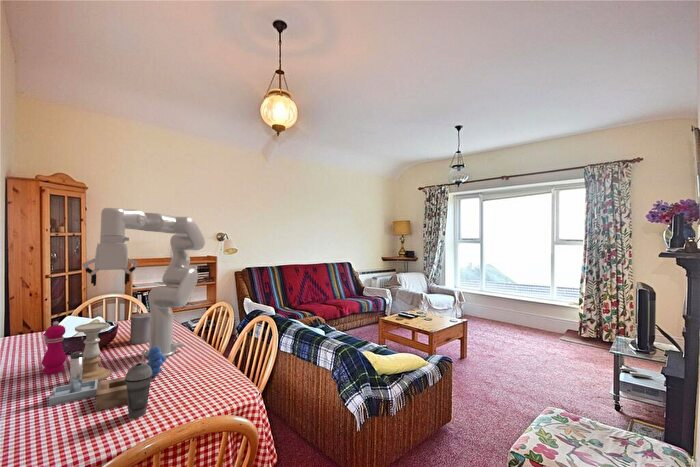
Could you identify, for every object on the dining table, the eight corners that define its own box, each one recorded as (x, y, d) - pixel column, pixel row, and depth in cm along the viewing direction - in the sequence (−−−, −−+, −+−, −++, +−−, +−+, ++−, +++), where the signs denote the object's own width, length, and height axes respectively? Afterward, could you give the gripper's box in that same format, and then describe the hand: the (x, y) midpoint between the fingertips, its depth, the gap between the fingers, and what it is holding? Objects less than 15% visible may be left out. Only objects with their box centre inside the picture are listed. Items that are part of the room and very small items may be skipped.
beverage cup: (132, 408, 103) (134, 345, 103) (155, 407, 103) (158, 345, 104) (117, 420, 95) (120, 353, 96) (143, 420, 96) (145, 353, 96)
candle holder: (64, 388, 114) (66, 331, 115) (74, 374, 125) (76, 323, 126) (106, 381, 120) (108, 328, 120) (113, 369, 131) (115, 320, 131)
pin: (81, 389, 112) (83, 350, 112) (81, 393, 109) (82, 353, 109) (69, 391, 110) (71, 352, 110) (68, 395, 107) (70, 355, 107)
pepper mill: (50, 376, 123) (53, 324, 123) (36, 374, 125) (38, 322, 125) (70, 369, 130) (72, 319, 131) (56, 367, 132) (58, 318, 132)
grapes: (171, 377, 125) (172, 346, 125) (152, 383, 120) (153, 351, 120) (161, 368, 133) (162, 340, 133) (142, 373, 128) (143, 343, 128)
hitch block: (135, 388, 116) (136, 374, 116) (137, 401, 107) (138, 386, 107) (96, 396, 109) (97, 382, 109) (95, 411, 100) (96, 395, 100)
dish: (97, 385, 117) (98, 379, 117) (96, 396, 109) (97, 388, 109) (53, 394, 109) (53, 387, 109) (49, 406, 102) (49, 398, 102)
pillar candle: (131, 339, 168) (132, 311, 168) (153, 337, 173) (153, 309, 173) (128, 345, 160) (129, 315, 160) (151, 343, 164) (152, 313, 164)
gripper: (138, 240, 131) (137, 282, 130) (84, 239, 120) (81, 284, 120) (140, 240, 125) (138, 284, 124) (82, 239, 114) (80, 287, 114)
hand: (110, 284), depth 122 cm, fingers open, 9 cm apart
